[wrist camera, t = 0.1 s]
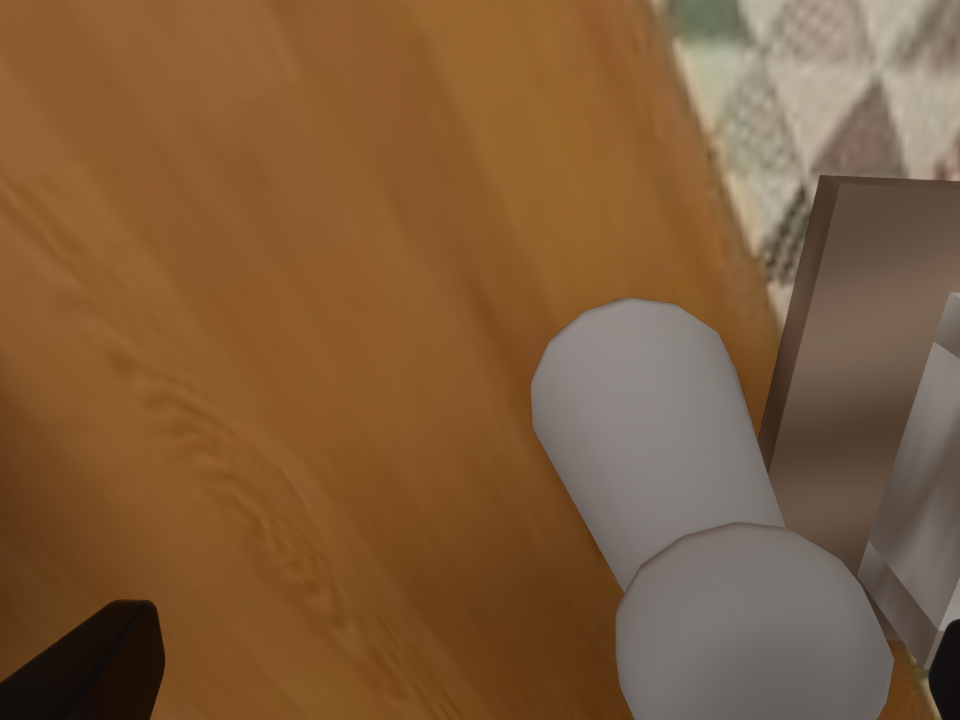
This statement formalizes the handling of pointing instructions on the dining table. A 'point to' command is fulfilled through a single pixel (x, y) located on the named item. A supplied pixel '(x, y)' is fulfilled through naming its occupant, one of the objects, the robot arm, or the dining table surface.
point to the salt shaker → (698, 530)
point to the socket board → (876, 398)
